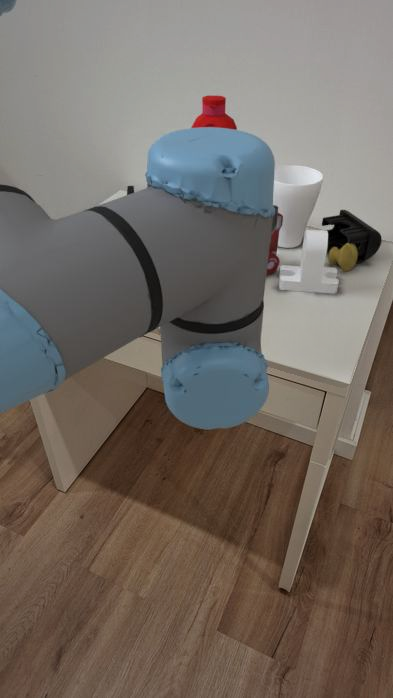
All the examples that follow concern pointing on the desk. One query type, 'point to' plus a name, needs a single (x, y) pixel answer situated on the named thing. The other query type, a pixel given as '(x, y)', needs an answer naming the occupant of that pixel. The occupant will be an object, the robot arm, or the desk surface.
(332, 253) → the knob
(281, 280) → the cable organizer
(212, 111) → the water bottle
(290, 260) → the desk surface
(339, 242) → the end cap
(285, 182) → the cup
